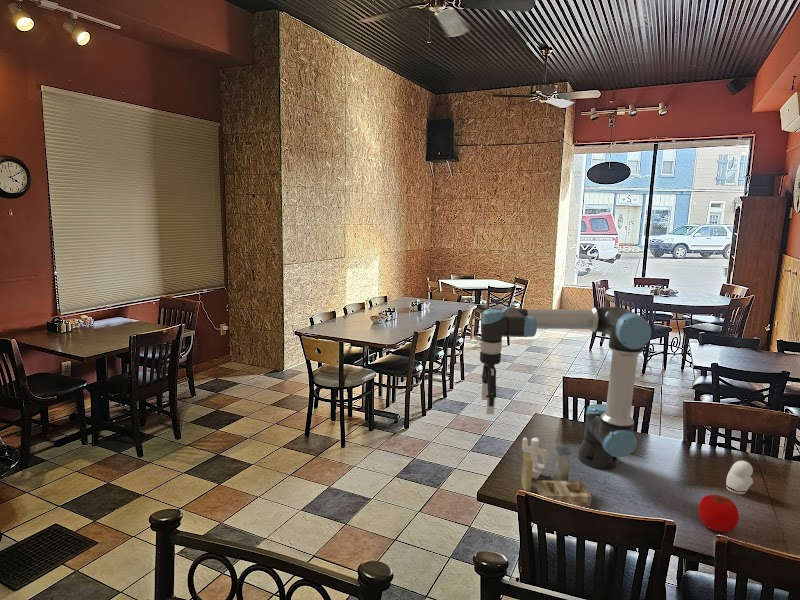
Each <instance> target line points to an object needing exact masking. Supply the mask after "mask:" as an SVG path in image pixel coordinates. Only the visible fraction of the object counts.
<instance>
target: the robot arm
mask: <svg viewBox="0 0 800 600" xmlns="http://www.w3.org/2000/svg"><path fill="white" fill-rule="evenodd" d="M538 329H544V330H545V329H547V330H548V329H551V330H590V331H591V333H602V334H606V335H608V336H609V338H608V339H609V340H608V348H609V349H610V351H611V353H612V355H611V360H610V361H611V362H610V370H609V380H608V390H607V396H606V404H599V403H598V404H597V403H596V404H590V405H588V406H587V409H586V412H585V422H584V433H583V434H584V436H583V440H582V442H581V444H580V447H579V448H578V450H577V451H578V452H577V458H578V460H579V461H580V462H581V463H583V464H585V465H586V466H589V467H592V468H596V469H604V470H605V469H613V468H615V467H617V465H618V458H625V457H628V456H629V455H630V454H632V453H633V452H634V451H635V450H636V448H637V445H638V439H637V436H636V435H635V434H634V427H635V421H634V419H633V418H632V416H631V412H632V404H633V398H634V397H633V396H634V387H635V379H636V373H637V365H638V364H637V363H638V356H639V355H640V354H642V353H643V351H644V347H645V346H646V344H649V342H650V340H651V337H652V330H651V329H652V328H651V326H650V324H649V322H648V320H646V319H645V318H644V317H642V315H640V314H638V313H635V312H633V311H630V310H628V309H627V308H624V307H621V306H592V307H591V308H590V309H559V308H556V309H555V308H554V309H553V308H551V309H550V308H545V309H544V308H537V309H536V308H516V307H514V306H507V307H505V308H503V309H502V310H501V309H495V308H489V309H488V308H487V309H485V310H483V312H482V318H481V334H480V342H479V343H478V344H479V346H480V352H479V362H480V363H482V364H483V365H482V366H483V367H482V373H481V380H482V381H481V382H482V385H481V399H480V400H481V401H486V411H485V413H486V415H495V406H496V405H495V403H496V399H497V370H496V369H497V368H496V367H495V366H496V365H499V364H500V363H501V359H502V353H501V352H502V344H503V337H510V338H511V337H512V338H513V337H516V338H518V337H519V338H531V337H532V338H533V337H535V336H536V334H537V330H538Z"/></svg>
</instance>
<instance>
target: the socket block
mask: <svg viewBox="0 0 800 600" xmlns="http://www.w3.org/2000/svg"><path fill="white" fill-rule="evenodd" d="M536 481H537V483H536V493H537V494H538V496H539V495H542V496H544V497H547V498H550V499H553V500H557V501H561V502H565V503H569V504H573V505H577V506H581V507H580V508H591V505H592V495H591V493H590V492H589V491H588V489H587V487H586V486H585V484H584V483H583V482H582V481H581V480H579V481H578V480H575V481H574V480H568V481H554V480H538V479H537V480H536Z"/></svg>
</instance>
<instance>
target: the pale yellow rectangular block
mask: <svg viewBox="0 0 800 600" xmlns="http://www.w3.org/2000/svg"><path fill="white" fill-rule="evenodd" d="M522 455H523V456H522V464H521V465H522V467H521V470H522V471H521V478H520V479H521V481H520V483H521V486H522V488H523V491H524V492H525V491H527V492H526V493H531V492H532V491H531V489H532V479H533V478H532V467H533V461H532V459H531V454H530V453H527V452H524V453H523V454H522Z"/></svg>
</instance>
